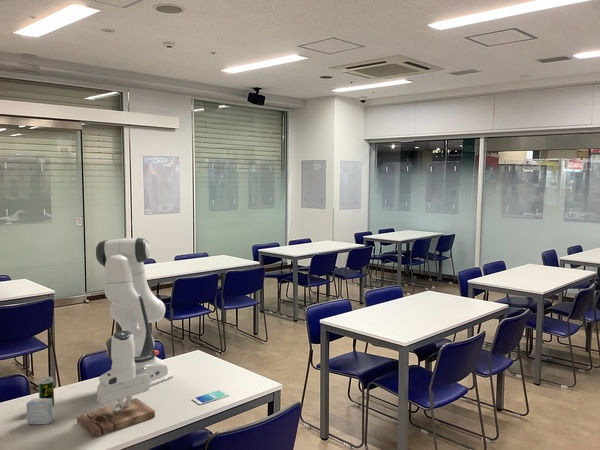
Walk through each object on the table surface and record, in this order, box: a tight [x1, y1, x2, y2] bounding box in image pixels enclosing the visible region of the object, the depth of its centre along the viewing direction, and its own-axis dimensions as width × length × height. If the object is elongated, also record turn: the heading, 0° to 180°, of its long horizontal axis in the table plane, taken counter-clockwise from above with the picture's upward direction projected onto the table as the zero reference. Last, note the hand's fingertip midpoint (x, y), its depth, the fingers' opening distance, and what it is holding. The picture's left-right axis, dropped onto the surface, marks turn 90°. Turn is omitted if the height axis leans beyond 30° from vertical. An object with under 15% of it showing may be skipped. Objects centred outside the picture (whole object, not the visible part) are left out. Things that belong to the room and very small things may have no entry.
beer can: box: [38, 376, 55, 407], centre depth 204 cm, size 5×5×12 cm
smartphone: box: [191, 389, 230, 406], centre depth 214 cm, size 7×1×15 cm
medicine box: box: [26, 398, 54, 425], centre depth 191 cm, size 8×4×9 cm, turn 92°
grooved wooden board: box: [76, 397, 156, 439], centre depth 194 cm, size 24×16×2 cm, turn 134°
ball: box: [112, 404, 121, 414], centre depth 193 cm, size 3×3×3 cm
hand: (124, 408), depth 195 cm, fingers closed
